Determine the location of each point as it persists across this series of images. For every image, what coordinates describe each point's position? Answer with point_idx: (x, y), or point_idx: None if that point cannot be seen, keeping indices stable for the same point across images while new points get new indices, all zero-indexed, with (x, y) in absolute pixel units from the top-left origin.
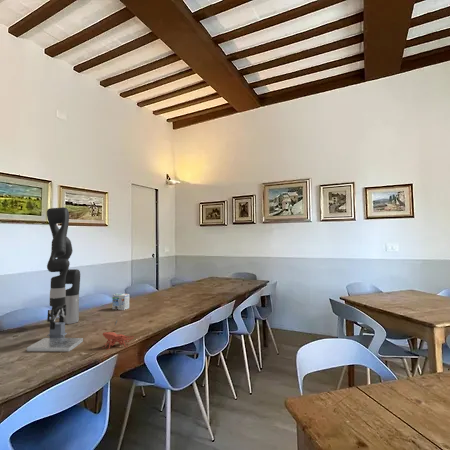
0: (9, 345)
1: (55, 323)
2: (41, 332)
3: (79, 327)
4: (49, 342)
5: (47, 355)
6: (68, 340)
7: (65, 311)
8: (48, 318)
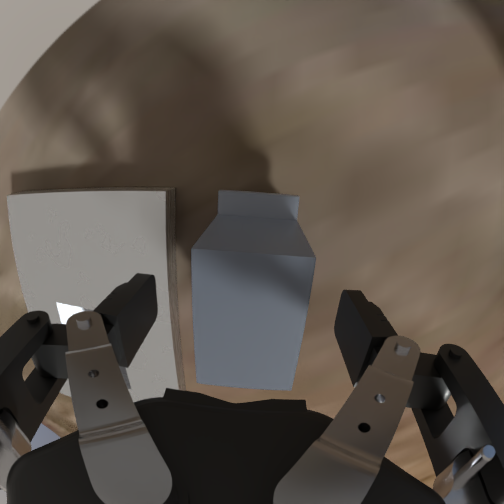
0: (116, 5)
1: (237, 311)
2: (425, 61)
3: (486, 296)
4: (78, 288)
5: (17, 316)
6: (132, 380)
7: (432, 445)
8: (11, 348)
